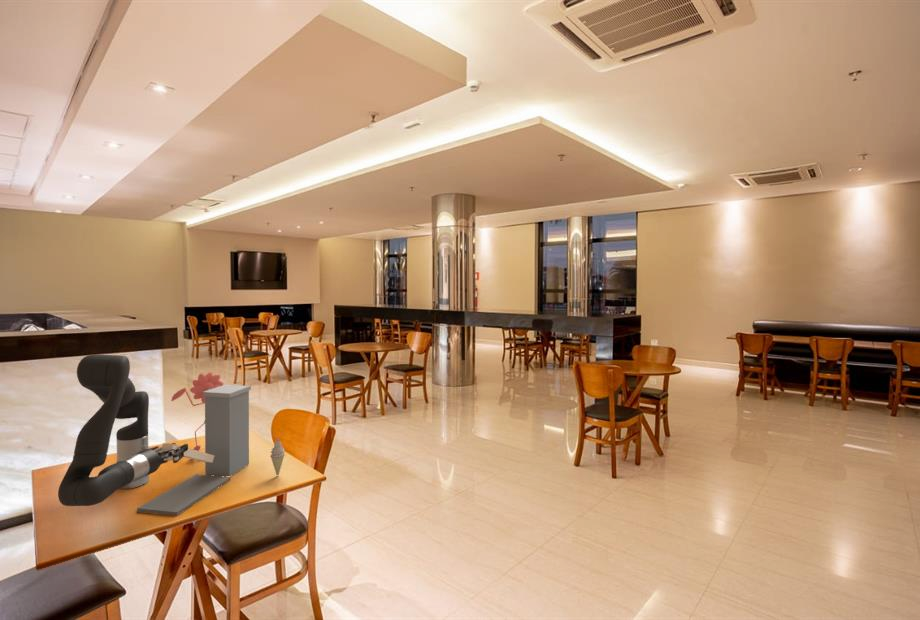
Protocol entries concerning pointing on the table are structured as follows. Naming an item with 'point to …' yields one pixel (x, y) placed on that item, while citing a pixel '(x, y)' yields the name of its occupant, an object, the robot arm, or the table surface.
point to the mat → (183, 495)
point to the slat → (191, 453)
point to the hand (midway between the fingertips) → (180, 446)
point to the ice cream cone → (277, 456)
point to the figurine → (200, 391)
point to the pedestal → (227, 429)
